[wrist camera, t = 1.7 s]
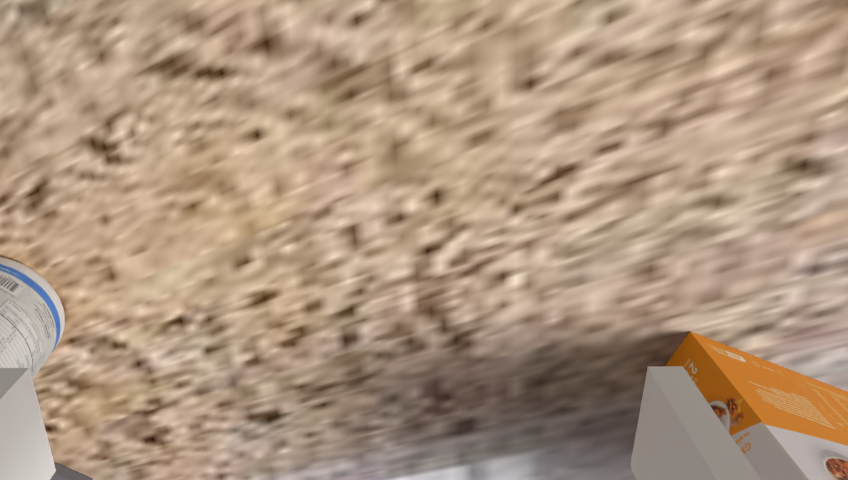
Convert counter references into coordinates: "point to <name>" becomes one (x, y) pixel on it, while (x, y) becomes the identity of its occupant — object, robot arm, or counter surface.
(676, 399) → the robot arm
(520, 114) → the counter surface
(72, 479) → the jack base
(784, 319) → the counter surface
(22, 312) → the supplement tub
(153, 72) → the counter surface
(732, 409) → the cereal box
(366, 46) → the counter surface
